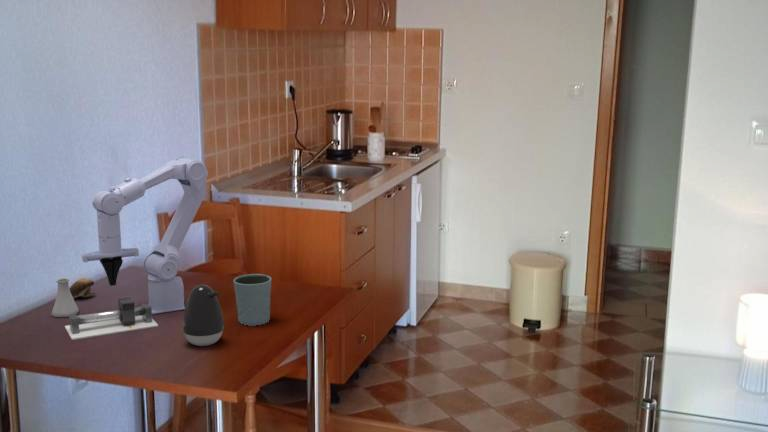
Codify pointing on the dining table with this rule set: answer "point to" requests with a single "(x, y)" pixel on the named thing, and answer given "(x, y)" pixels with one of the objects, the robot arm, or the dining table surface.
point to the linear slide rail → (107, 317)
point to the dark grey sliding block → (127, 311)
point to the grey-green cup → (253, 298)
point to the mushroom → (82, 288)
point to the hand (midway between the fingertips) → (112, 284)
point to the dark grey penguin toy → (203, 317)
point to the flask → (64, 300)
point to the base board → (108, 328)
